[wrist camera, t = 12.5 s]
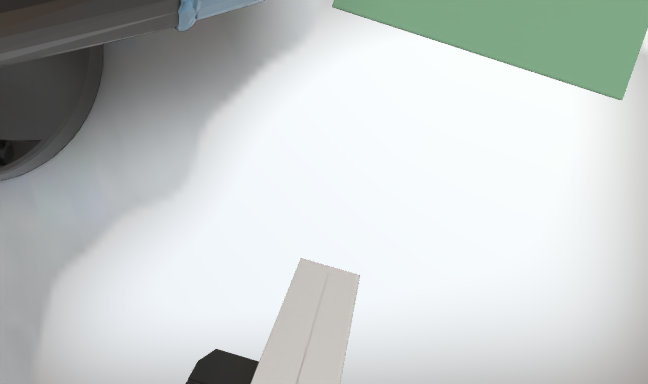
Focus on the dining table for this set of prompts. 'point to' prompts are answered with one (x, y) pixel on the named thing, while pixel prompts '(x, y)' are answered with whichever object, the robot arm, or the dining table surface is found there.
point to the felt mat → (530, 33)
